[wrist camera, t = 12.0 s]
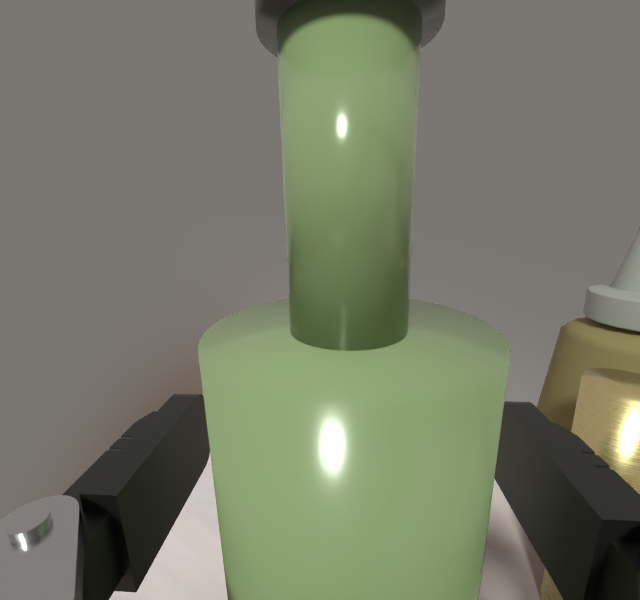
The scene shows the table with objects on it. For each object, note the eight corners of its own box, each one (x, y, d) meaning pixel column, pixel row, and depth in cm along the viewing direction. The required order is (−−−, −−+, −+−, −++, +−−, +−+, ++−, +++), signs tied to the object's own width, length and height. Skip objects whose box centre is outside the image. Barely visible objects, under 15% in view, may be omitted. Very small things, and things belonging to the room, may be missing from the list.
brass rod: (588, 579, 17) (638, 368, 14) (636, 652, 15) (711, 407, 12) (528, 576, 18) (565, 367, 15) (564, 647, 15) (619, 405, 12)
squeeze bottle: (496, 468, 25) (528, 222, 21) (596, 460, 26) (649, 220, 21) (587, 581, 17) (671, 227, 13) (729, 567, 18) (855, 223, 14)
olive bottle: (418, 702, 13) (469, 47, 7) (469, 1039, 8) (775, -357, 2) (278, 690, 13) (229, 60, 8) (235, 1003, 8) (-5, -253, 3)
